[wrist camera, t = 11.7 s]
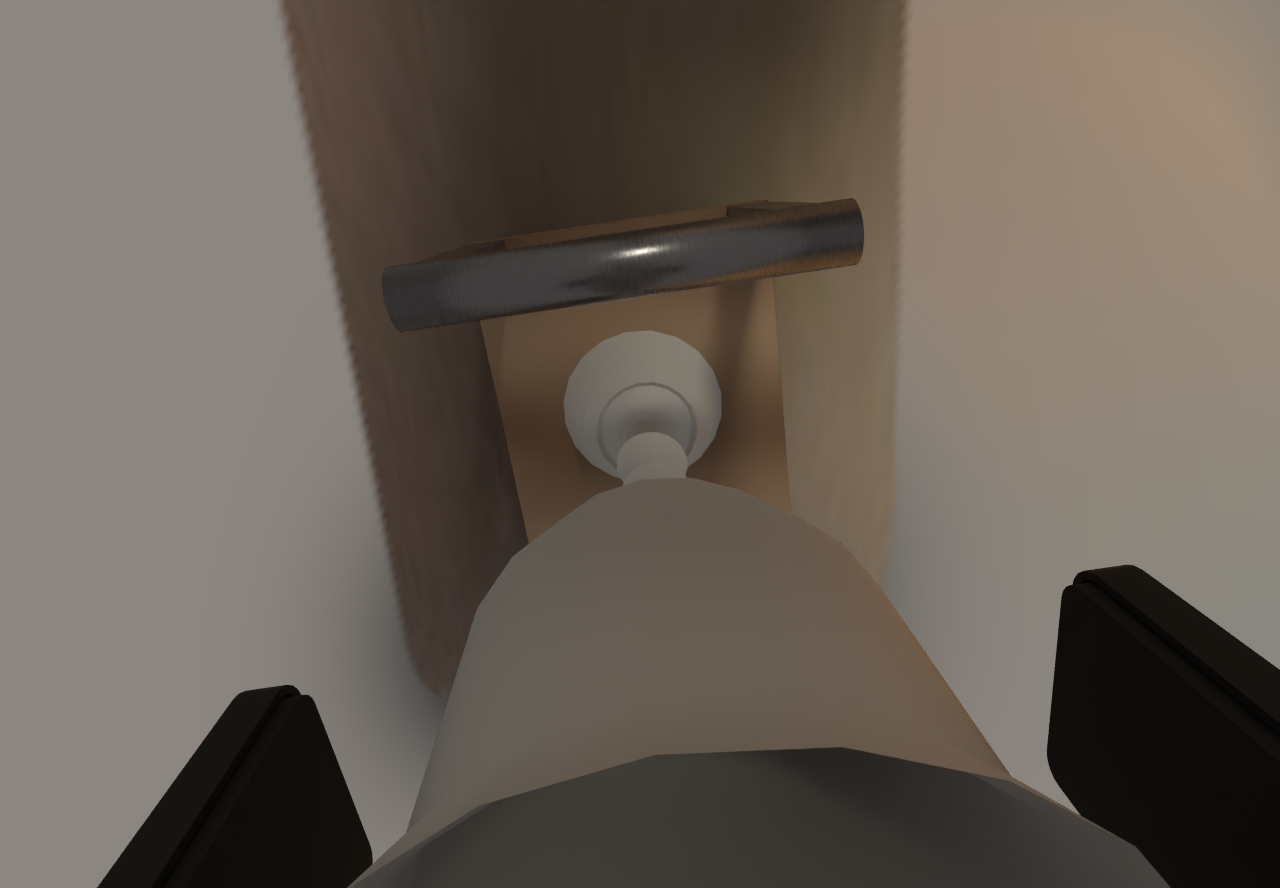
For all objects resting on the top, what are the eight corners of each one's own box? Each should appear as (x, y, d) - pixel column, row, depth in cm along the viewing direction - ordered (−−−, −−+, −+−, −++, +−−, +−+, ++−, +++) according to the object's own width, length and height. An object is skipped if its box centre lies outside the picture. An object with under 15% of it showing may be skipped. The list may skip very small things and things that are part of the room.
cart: (485, 234, 24) (365, 271, 12) (742, 196, 24) (874, 196, 12) (549, 543, 28) (506, 795, 16) (768, 511, 28) (886, 740, 16)
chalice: (498, 457, 22) (165, 1258, 6) (577, 261, 20) (434, 580, 4) (699, 535, 24) (925, 1377, 7) (793, 358, 22) (1432, 926, 5)
